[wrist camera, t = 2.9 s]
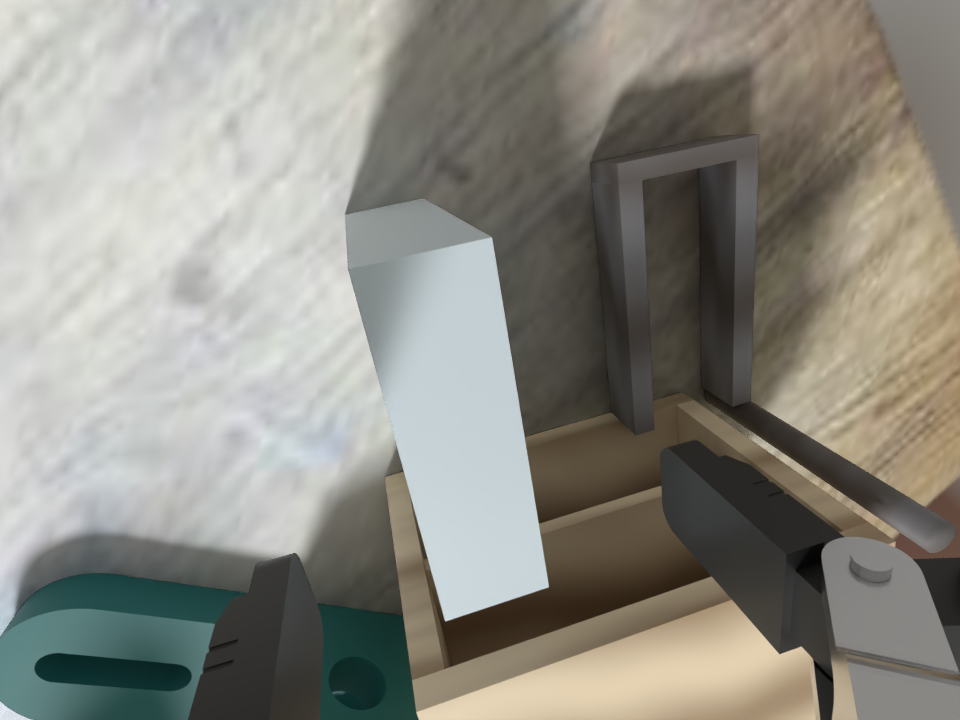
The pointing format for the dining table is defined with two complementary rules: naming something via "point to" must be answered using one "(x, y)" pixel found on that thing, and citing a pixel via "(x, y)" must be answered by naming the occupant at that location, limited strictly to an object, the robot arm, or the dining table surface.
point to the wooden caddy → (642, 506)
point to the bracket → (175, 653)
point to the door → (450, 398)
